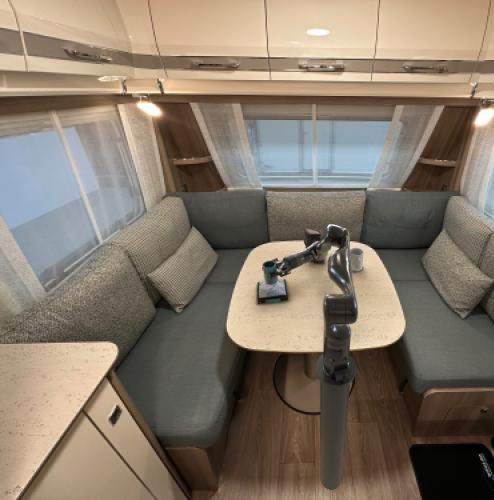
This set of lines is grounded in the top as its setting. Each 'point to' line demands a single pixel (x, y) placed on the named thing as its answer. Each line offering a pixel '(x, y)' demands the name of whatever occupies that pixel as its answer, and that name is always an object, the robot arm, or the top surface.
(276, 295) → the scale
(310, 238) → the owl
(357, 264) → the mug
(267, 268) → the cup
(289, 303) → the top surface
